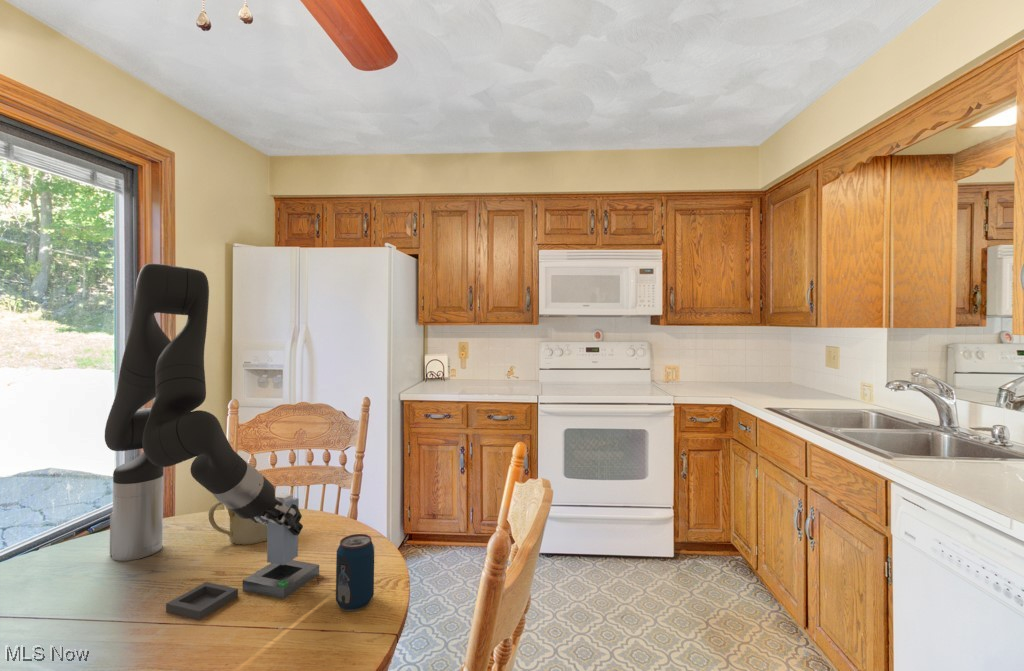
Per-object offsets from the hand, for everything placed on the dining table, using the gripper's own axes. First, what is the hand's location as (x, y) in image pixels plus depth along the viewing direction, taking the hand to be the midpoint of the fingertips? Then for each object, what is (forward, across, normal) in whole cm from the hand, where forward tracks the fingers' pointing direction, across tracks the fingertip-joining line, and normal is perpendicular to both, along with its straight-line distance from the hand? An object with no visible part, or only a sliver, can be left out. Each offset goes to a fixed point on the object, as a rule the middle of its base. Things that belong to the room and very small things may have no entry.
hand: (289, 529), depth 99 cm
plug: (+2, 0, +5) cm, 6 cm away
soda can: (+6, -18, +10) cm, 21 cm away
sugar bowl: (+17, +24, -2) cm, 29 cm away
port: (+6, 0, +9) cm, 11 cm away
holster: (-2, +8, +16) cm, 18 cm away
